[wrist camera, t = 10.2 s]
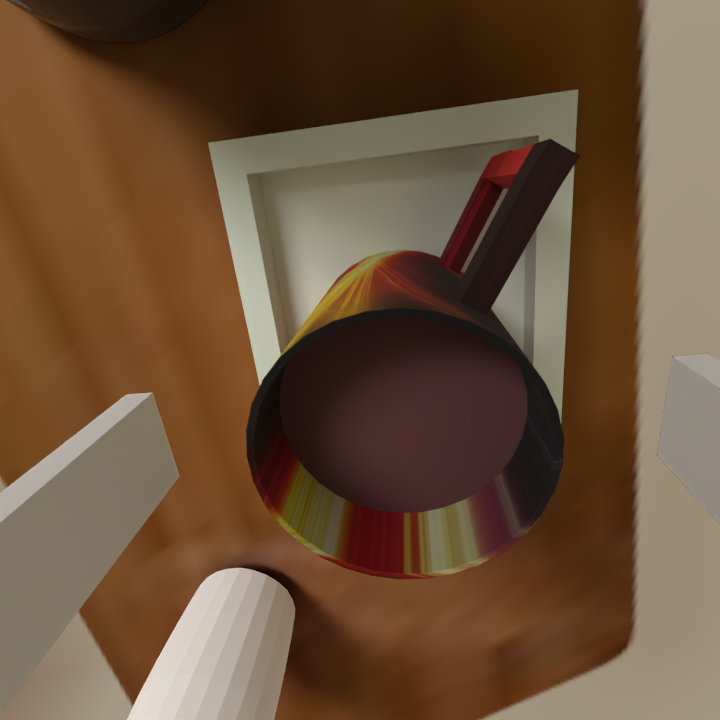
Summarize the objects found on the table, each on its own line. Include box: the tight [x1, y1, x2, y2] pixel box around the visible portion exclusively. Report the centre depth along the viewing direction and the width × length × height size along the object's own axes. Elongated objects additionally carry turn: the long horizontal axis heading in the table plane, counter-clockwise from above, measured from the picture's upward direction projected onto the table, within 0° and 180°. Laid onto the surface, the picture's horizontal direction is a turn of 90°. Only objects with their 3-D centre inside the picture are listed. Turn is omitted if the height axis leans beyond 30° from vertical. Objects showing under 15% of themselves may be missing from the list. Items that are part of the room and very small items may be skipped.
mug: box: [246, 139, 580, 579], centre depth 18 cm, size 10×14×12 cm
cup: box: [127, 568, 295, 720], centre depth 29 cm, size 8×8×14 cm
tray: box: [208, 89, 578, 422], centre depth 24 cm, size 18×16×4 cm
